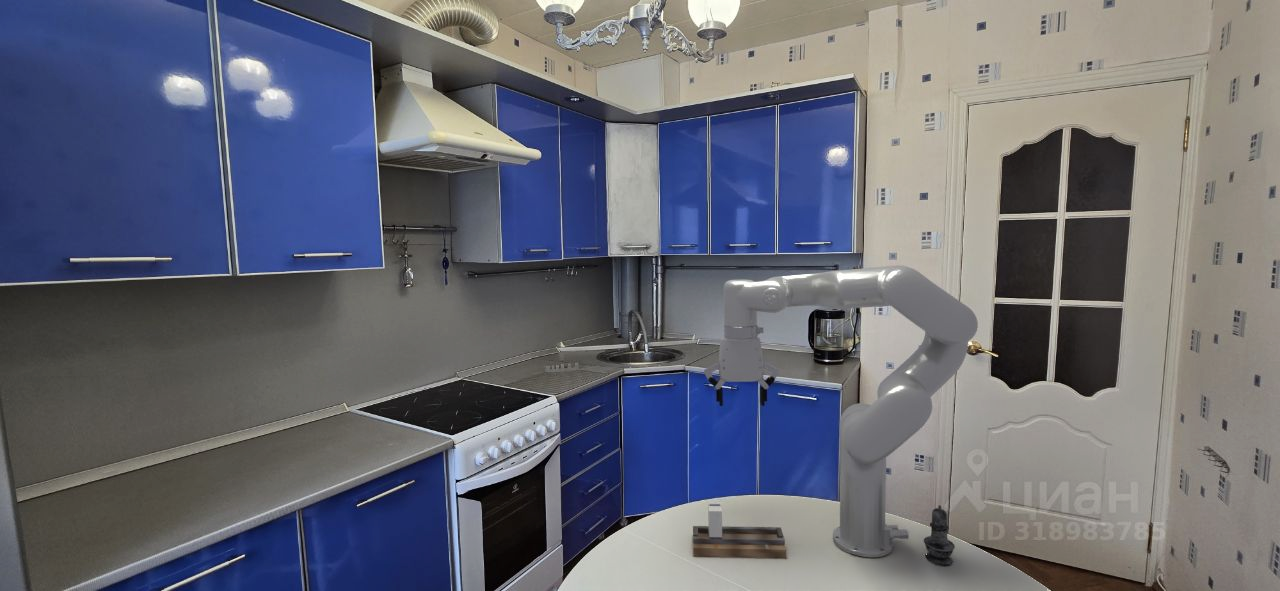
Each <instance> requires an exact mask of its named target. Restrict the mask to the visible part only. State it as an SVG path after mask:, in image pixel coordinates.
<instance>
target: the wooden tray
mask: <svg viewBox="0 0 1280 591" xmlns="http://www.w3.org/2000/svg"><path fill="white" fill-rule="evenodd" d="M708 528H709V525H692V546H693V549H692V550H693V551H692V552H693V553H692V554H693V555H692V556H693V557H695V558H733V559H734V558H740V559H742V558H743V559H744V558H746V559H785V560H786V559H787V547H786V539H785V536H784V533H783V529H782V527H780V526H778V527H777V526H776V527H775V526H774V527H773V526H729V525H728V526H725V525H724V526H723V525H722V537H709V534H708Z"/></svg>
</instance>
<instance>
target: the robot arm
mask: <svg viewBox="0 0 1280 591" xmlns="http://www.w3.org/2000/svg"><path fill="white" fill-rule="evenodd" d="M803 306H804V307H806V306H809V307H810V306H814V307H815V306H818V307H825V308H829V309H836V310H847V309H860V308H874V307H875V308H876V307H880V308H881V307H892V308H893V309H894V310H896V311H897V312H898V313H899V314H900V315H902V316H904V317H905V318H906V319H907V320H909V321H910V322H912V324H914V325H915V326H917V327H919V328H920V329H921V330H923V332H924V337H923V340H922V342H921V343H920V345H919V347H918V348H916V350H915V351H914V352H913V353H912V354H911V355H910V356H909V357H908V358H907V359H906V360H905V361H903V363H901V364H900V365H899V366H898V367H897V368H896V369H895V370H893V371H892V372H891V373H889V375H887V376H886V377H885V378H884V379H882V381H881V382H880V383H879V384H878V388H877V391H876V394H877V399H876V400H875V401H873V402H872V403H871V404H869V403H868V404H867V403H864V402H863V403H860V402H859V403H855V404H852V405H850V406H848V407H847V408H846V409H844V411H843V412H842V414H841V416H840V420H839V452H840V453H839V459H840V460H839V465H840V467H839V469H840V470H839V526H838V527H836V528H834V530H833V531H832V539H833V540H832V541H833V543H834V544H835V545H836V546H837V547H838V548H839V549H841V550H842V551H844V552H846V553H849V554H850V555H853V556H858V557H863V558H880V557H881V558H882V557H884V556H886V555H889V554H890V553H891V552H892V551H893V549H894V548H893V546H894V543H893V540H895V539H899V540H900V539H902V540H903V539H906V540H909V535H910V534H909V531H908V529H906V528H905V529H899V526H898V525H897V524H887V523H886V506H887V505H886V496H887V495H886V492H887V491H886V488H887V458H888V457H889V456H890V455H891V454H892V453H894V452H895V451H896V450H898V449H899V448H900V447H901V446H903V444H905V443H906V442H907V441H908V440H909V439H910V438H912V436H914V435H915V434H916V433H917V432H918V431H920V430H921V429H922V428H923V427H924V426H925V425H926V424H927V422H928V420H929V419H930V417H931V415H932V412H933V401H932V396H933V395H935V394H936V393H937V392H938V391H939V390H940V389H941V388H942V387H944V385H945V384H946V383H947V382H948V381H950V379H951V378H952V377H954V375H955V374H956V373H957V372H958V371H959V370H960V368H961V367H962V365H963V363H964V362H965V359H966V356H967V352H968V347H969V341H971V340H972V339H973V338H974V337H975V335H976V334H977V331H978V325H979V324H978V323H979V322H978V319H977V316H976V314H975V313H974V311H973V310H972V309H971V308H970V307H969V306H968V305H966V304H964V302H962V301H960V300H959V299H957V298H956V297H954V296H953V295H951V294H950V293H948V292H947V291H945V290H944V289H942V288H941V287H940V286H939V285H937V284H936V283H934V282H933V281H931V280H930V279H929V278H928V277H927V276H925V275H923V274H922V273H921V272H920V271H918V270H916V269H915V268H912V267H909V266H907V265H888V266H875V267H863V268H854V269H842V270H841V269H840V270H831V271H825V272H817V273H806V274H805V273H804V274H795V275H793V274H792V275H781V276H772V277H770V278H767V279H765V280H758V281H754V280H752V279H746V278H745V279H742V278H741V279H730V280H727V281H726V282H724V285H723V326H724V327H723V328H724V329H723V334H724V335H723V337H721V338H720V343H719V352H718V362H716V363H714V364H711V365H710V366H707V367H706V368H704V369H703V373H704V375H705V377H706V379H707V380H708V382H709V383H710V384H711V386H713V387H714V389H715V393H716V394H715V396H716V399H715V401H716V402H718V404H719V407H722V406H724V395H723V394H724V392H723V386H724V384H725V383H726V382H731V383H732V382H733V383H735V382H736V383H737V382H740V383H741V382H748V383H749V382H757V383H758V384H759V385H760V386H759V403H760V405H761V407H765V404H766V403H765V402H768V389H769V387H770V386H771V385H772V384H773V383H774V382H775V381H776V379H777V377H778V375H779V373H780V370H779V368H777V367H775V366H773V365H772V364H769V363H767V362H764V359H763V358H764V357H763V348H762V342H761V338H760V337H758V335H759V334H764V327H761V326H758V312H762V313H767V314H776V313H780V312H783V310H785V309H786V308H791V307H803ZM764 370H767V371H768V372H770V375H769V376H768V377H767V378H766V379H764V376H765V375H764ZM716 371H718V375H719V377H718V378H717V379H716V378H715V377H713V375H712V373H714V372H716Z"/></svg>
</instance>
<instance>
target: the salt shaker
mask: <svg viewBox="0 0 1280 591" xmlns="http://www.w3.org/2000/svg"><path fill="white" fill-rule="evenodd" d="M929 525H930V527H931V529H930V531H931V534H930V536H929V535H928V536H926V537H925V538H923V543H924V546H925V549H926V550H927V552H926V553H927V555H926V553H925V554H924V559H925V558H926V559H927V560H928V561H929V563H930V562H931V564H932V563H933V565H934V564H935V565H934V566H938V565H940V566H939V567H950V566H952V565H953V564H954V561H953V559H952V558H951V556H952V554H953V553H954V550H955V549H956V546H955V544H954V542H953V541H951V540H950V539H948V531H949V530H950V527H949V525H948V513H947V511H946V510H944V508H942V506H941V504H939V505H937V508H936V507H935V508H934V509H932V513H931V522H930V523H929ZM926 559H925V560H926ZM927 560H926V561H927ZM928 561H927V562H928ZM952 563H953V564H952ZM951 564H952V565H951ZM949 565H950V566H949Z"/></svg>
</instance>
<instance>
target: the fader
mask: <svg viewBox="0 0 1280 591" xmlns="http://www.w3.org/2000/svg"><path fill="white" fill-rule="evenodd" d="M707 509H708V513H707V514H708V526H709V528H708V534H709V537H722V526H723V510H722V502H721V499H707Z"/></svg>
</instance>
